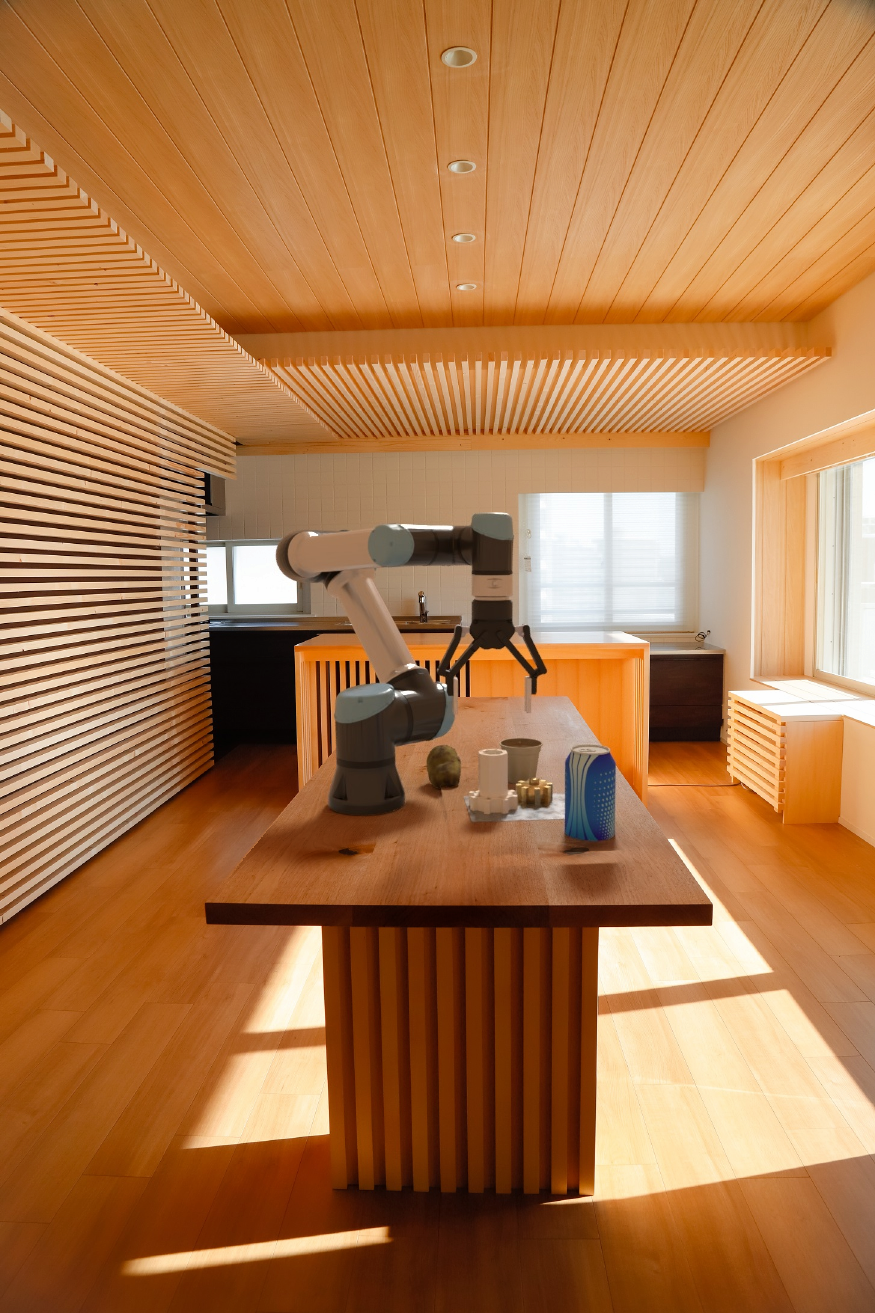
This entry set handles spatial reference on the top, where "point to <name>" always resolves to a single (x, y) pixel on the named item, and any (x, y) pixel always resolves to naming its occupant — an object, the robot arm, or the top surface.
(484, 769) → the planet gear
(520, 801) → the plate
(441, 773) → the potato
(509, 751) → the flower pot
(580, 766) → the beer can
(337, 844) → the top surface
